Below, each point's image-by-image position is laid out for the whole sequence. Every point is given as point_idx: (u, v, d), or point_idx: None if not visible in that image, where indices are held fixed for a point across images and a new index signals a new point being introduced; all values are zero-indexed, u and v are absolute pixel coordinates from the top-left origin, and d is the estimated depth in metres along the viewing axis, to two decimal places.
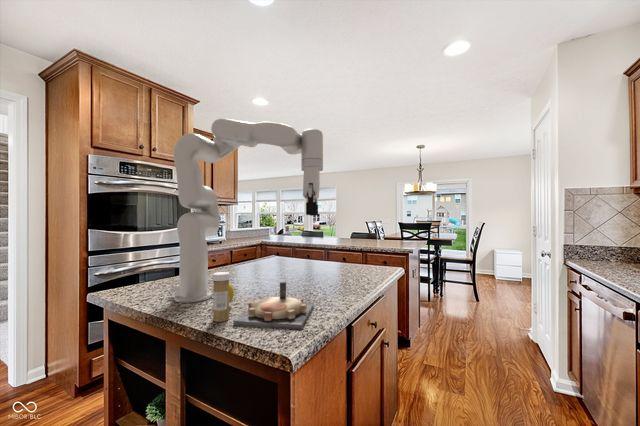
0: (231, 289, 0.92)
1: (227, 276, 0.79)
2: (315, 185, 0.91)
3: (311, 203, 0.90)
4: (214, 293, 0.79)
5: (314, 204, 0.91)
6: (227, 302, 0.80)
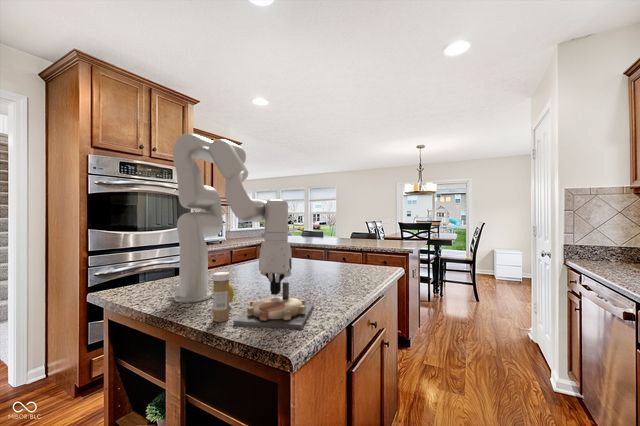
0: (231, 289, 0.92)
1: (227, 276, 0.79)
2: (291, 260, 0.91)
3: (280, 282, 0.90)
4: (214, 293, 0.79)
5: None
6: (227, 302, 0.80)
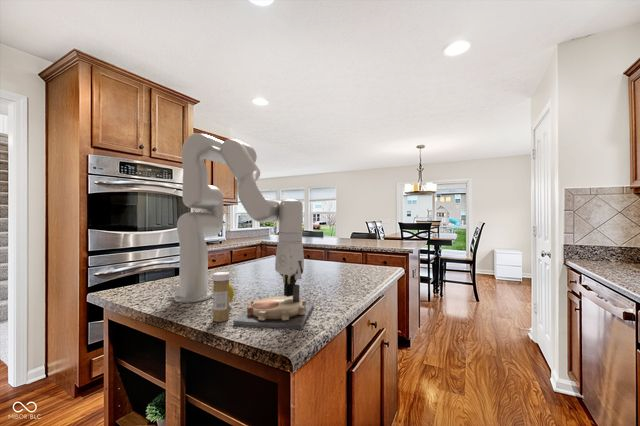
0: (231, 289, 0.92)
1: (227, 276, 0.79)
2: (303, 262, 0.86)
3: (293, 284, 0.88)
4: (214, 293, 0.79)
5: (294, 284, 0.89)
6: (227, 302, 0.80)
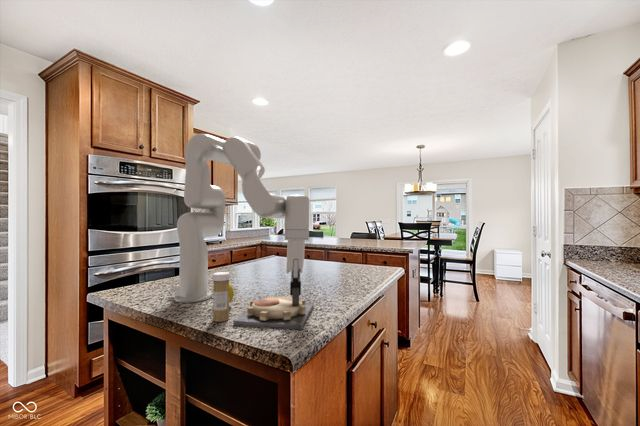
0: (231, 289, 0.92)
1: (227, 276, 0.79)
2: (301, 261, 0.81)
3: (296, 283, 0.84)
4: (214, 293, 0.79)
5: (299, 284, 0.85)
6: (227, 302, 0.80)
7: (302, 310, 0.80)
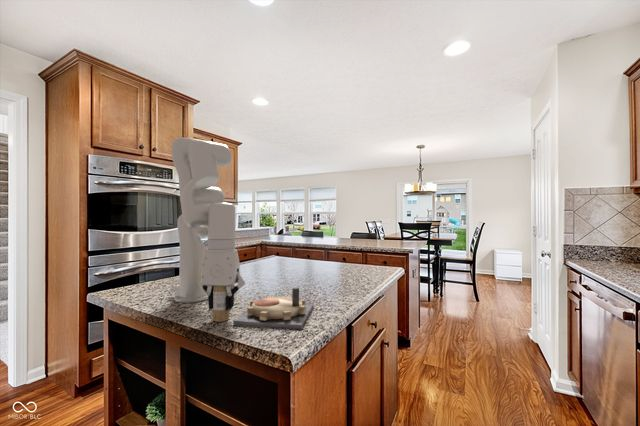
0: None
1: None
2: (239, 270, 0.81)
3: (233, 295, 0.80)
4: (214, 293, 0.79)
5: None
6: None
7: (302, 310, 0.80)
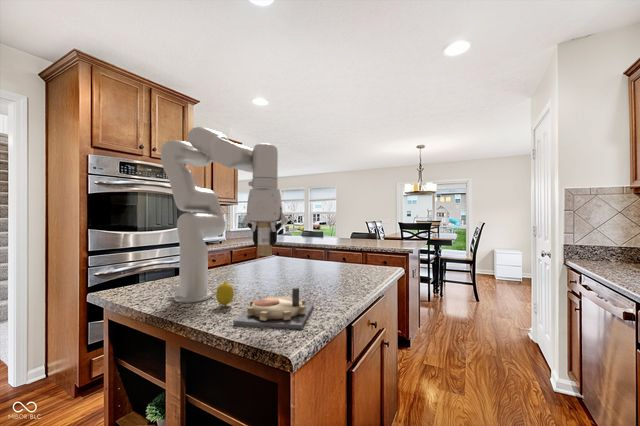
0: (231, 289, 0.92)
1: None
2: (281, 209, 0.86)
3: (276, 232, 0.84)
4: (259, 229, 0.83)
5: None
6: None
7: (302, 310, 0.80)
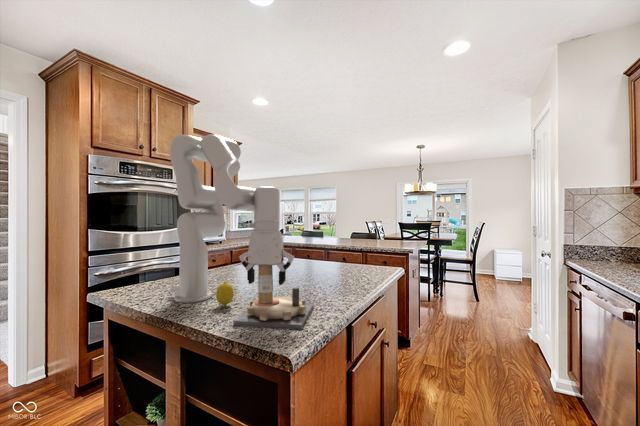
0: (231, 289, 0.92)
1: None
2: None
3: (285, 271, 0.84)
4: (260, 276, 0.83)
5: None
6: (271, 285, 0.84)
7: (302, 310, 0.80)
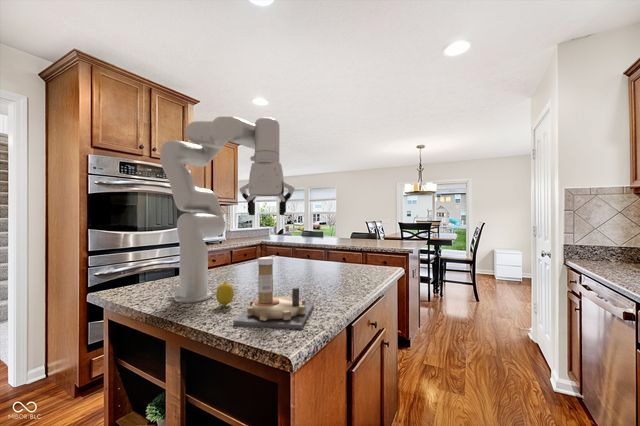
0: (231, 289, 0.92)
1: (271, 260, 0.84)
2: None
3: (285, 202, 0.85)
4: (260, 276, 0.83)
5: None
6: (271, 285, 0.84)
7: (302, 310, 0.80)
